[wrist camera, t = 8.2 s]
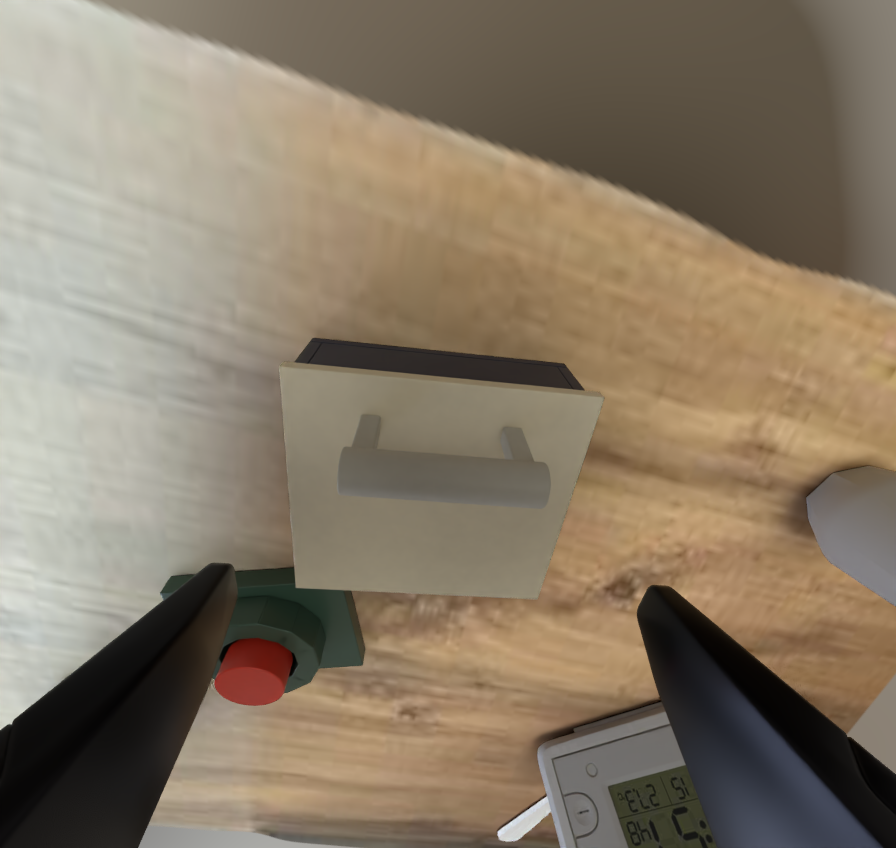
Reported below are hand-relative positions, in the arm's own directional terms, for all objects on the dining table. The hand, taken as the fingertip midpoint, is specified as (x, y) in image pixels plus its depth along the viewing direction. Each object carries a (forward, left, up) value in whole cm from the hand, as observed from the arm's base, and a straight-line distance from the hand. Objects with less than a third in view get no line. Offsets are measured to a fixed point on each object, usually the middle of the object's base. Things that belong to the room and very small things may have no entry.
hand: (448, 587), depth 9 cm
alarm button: (-11, -15, -9) cm, 21 cm away
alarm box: (-11, -15, -11) cm, 22 cm away
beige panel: (-1, -3, -7) cm, 8 cm away
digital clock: (+14, -32, -11) cm, 36 cm away
